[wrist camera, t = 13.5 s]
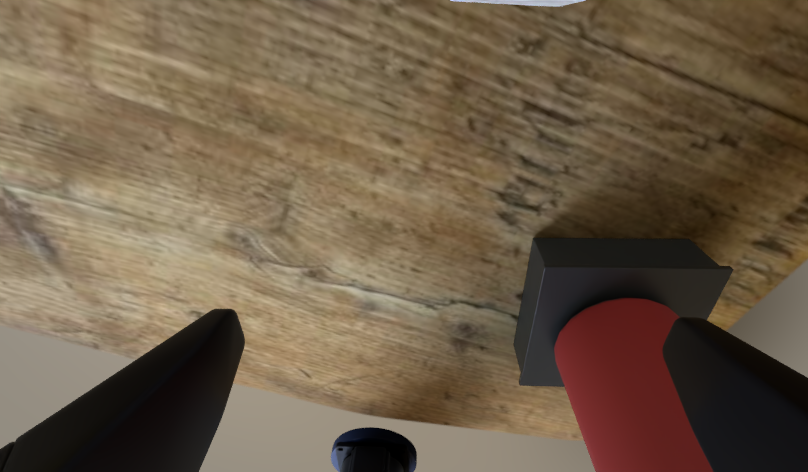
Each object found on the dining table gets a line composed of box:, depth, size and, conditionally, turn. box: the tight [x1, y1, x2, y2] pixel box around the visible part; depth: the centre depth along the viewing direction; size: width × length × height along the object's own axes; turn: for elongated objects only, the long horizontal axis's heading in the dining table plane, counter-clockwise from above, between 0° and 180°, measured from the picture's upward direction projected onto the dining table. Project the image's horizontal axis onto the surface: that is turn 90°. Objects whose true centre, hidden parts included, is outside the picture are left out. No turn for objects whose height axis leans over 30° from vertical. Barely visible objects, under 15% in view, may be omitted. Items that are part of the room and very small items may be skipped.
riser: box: [514, 238, 733, 387], centre depth 22 cm, size 9×9×3 cm
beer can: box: [554, 298, 713, 472], centre depth 16 cm, size 7×7×12 cm
